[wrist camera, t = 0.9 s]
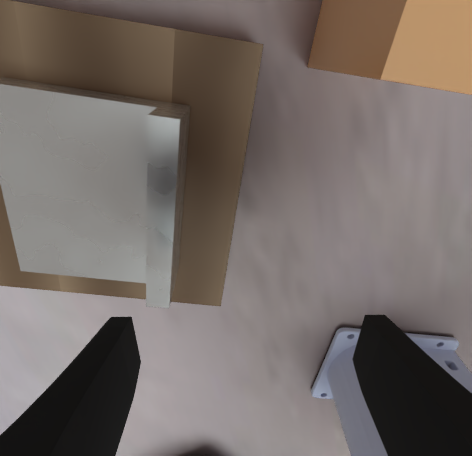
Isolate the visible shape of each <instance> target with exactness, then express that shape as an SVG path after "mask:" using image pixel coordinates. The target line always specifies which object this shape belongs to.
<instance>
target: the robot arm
mask: <svg viewBox="0 0 472 456" xmlns="http://www.w3.org/2000/svg"><path fill="white" fill-rule="evenodd" d="M458 345H459V342H458V341H457V339H456V338H453V337H444V336H433V335H422V334H411V333H404V332H403V331H402V330H401V329H400V328H398V327H397V326H396V325H395V324H394V323H393V322H392V321H391V320H390V319H389V318H387V317H386V316H385V315H365V317H364V321H363V324H362V327H361V329H356V328H345V327H344V328H340V329H338V330H337V331H336V334H335V336H334V338H333V341H332V343H331V345H330V348H329V350H328V352H327V355H326V357H325V359H324V362H323V364H322V366H321V369H320V371H319V373H318V376H317V378H316V380H315V383H314V385H313V387H312V390H311V393H312V396H313V397H315V398H325V399H334V402H335V405H336V408H337V412H338V415H339V418H340V421H341V425H342V428H343V431H344V434H345V438H346V441H347V444H348V447H349V451H350V454H351V456H472V374H471V372H470V371H469V370H468V368H467V367H466V366H465V365H464V363H463V362H462V361H461V359H460V358H459V357H458V355H457V354H456V353H455V350H456V348H457V347H458ZM140 363H141V360H140V355H139V350H138V346H137V341H136V336H135V331H134V326H133V321H132V317H111V318H110V319H109V320H108V321H107V322H106V323H105V324H104V326H103V327H102V328H101V329H100V330H99V331H98V333H97V334H96V335H95V336H94V337H93V338H92V340H91V341H90V342H89V343H88V344H87V345H86V347H85V348H84V349H83V350H82V351H81V352H80V353H79V355H78V356H77V357H76V358H75V359H74V360H73V361H72V362H71V364H70V365H69V366H68V367H67V368H66V369H65V370H64V371H63V372H62V373H61V375H60V376H59V377H58V378H57V379H56V380H55V381H54V382H53V383H52V384H51V385H50V386H49V387H48V388H47V389H46V391H45V392H44V393H43V394H42V395H41V396H40V397H39V398H38V399H37V400H36V401H35V402H34V403H33V404H32V405H31V406H30V407H29V408H28V409H27V410H26V411H25V412H24V413H23V414H22V415H21V416H20V417H19V418H18V419H17V420H16V421H15V422H14V423H13V424H12V425H11V426H10V427H9V428H8V429H6V430H5V431H4V432H3V433H2V434H1V435H0V456H115V455H116V452H117V449H118V445H119V442H120V439H121V436H122V433H123V430H124V427H125V423H126V420H127V417H128V414H129V411H130V407H131V404H132V401H133V398H134V393H135V389H136V384H137V379H138V374H139V369H140Z"/></svg>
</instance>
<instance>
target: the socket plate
mask: <svg viewBox="0 0 472 456" xmlns="http://www.w3.org/2000/svg"><path fill="white" fill-rule="evenodd" d="M262 50H263V44H259V43H253V42H248V41H242V40H236V39H230V38H225V37H219V36H213V35H207V34H202V33H196V32H190V31H184V30H178V29H173V28H167V27H161V26H155V25H150V24H144V23H138V22H132V21H127V20H121V19H115V18H109V17H104V16H98V15H92V14H86V13H80V12H75V11H69V10H63V9H57V8H52V7H46V6H40V5H34V4H29V3H23V2H17V1H11V0H0V78H4V77H5V78H11V79H18V80H24V81H31V82H37V83H44V84H51V85H57V86H64V87H70V88H77V89H84V90H90V91H97V92H103V93H110V94H117V95H123V96H130V97H136V98H143V99H149V100H156V101H163V102H169V103H176V104H182V105H189V106H190V116H189V130H188V144H187V158H186V172H185V186H184V200H183V214H182V228H181V242H180V256H179V268H178V273H177V277H176V281H175V286H174V290H173V294H172V299H171V302H180V303H191V304H202V305H212V306H221V300H222V294H223V288H224V282H225V276H226V270H227V264H228V258H229V251H230V245H231V239H232V233H233V227H234V221H235V215H236V209H237V203H238V197H239V190H240V184H241V178H242V172H243V166H244V160H245V154H246V148H247V142H248V136H249V129H250V123H251V117H252V111H253V105H254V99H255V93H256V87H257V81H258V75H259V68H260V62H261V56H262ZM0 286H10V287H21V288H31V289H42V290H53V291H63V292H74V293H85V294H95V295H106V296H116V297H127V298H138V299H146V283H137V282H127V281H117V280H107V279H96V278H86V277H76V276H66V275H56V274H46V273H36V272H25V271H21V270H20V266H19V262H18V258H17V253H16V249H15V245H14V240H13V236H12V232H11V228H10V223H9V219H8V215H7V210H6V206H5V202H4V198H3V193H2V189H1V185H0Z"/></svg>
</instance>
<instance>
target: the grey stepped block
mask: <svg viewBox="0 0 472 456" xmlns="http://www.w3.org/2000/svg"><path fill="white" fill-rule="evenodd" d="M189 116H190V106H189V105H182V104H176V103H169V102H163V101H156V100H149V99H143V98H136V97H130V96H123V95H117V94H110V93H103V92H97V91H90V90H84V89H77V88H70V87H64V86H57V85H51V84H44V83H37V82H31V81H24V80H18V79H11V78H5V77H4V78H0V185H1V189H2V193H3V198H4V202H5V206H6V210H7V215H8V219H9V223H10V228H11V232H12V236H13V240H14V245H15V249H16V253H17V258H18V262H19V266H20V270H21V271H25V272H36V273H46V274H56V275H66V276H76V277H86V278H96V279H107V280H117V281H127V282H137V283H146V306H147V307H158V308H169V307H170V303H171V299H172V294H173V290H174V286H175V281H176V277H177V273H178V268H179V256H180V242H181V228H182V214H183V200H184V186H185V172H186V158H187V144H188V130H189Z"/></svg>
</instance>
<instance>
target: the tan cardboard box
mask: <svg viewBox="0 0 472 456" xmlns="http://www.w3.org/2000/svg"><path fill="white" fill-rule="evenodd" d="M307 67H308V68H314V69H320V70H326V71H332V72H338V73H344V74H349V75H355V76H361V77H367V78H373V79H379V80H385V81H391V82H397V83H403V84H409V85H415V86H421V87H427V88H433V89H439V90H445V91H451V92H457V93H464V94H470V95H472V0H323V1H322V5H321V9H320V14H319V18H318V22H317V27H316V31H315V36H314V40H313V44H312V49H311V53H310V57H309V62H308V66H307Z"/></svg>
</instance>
